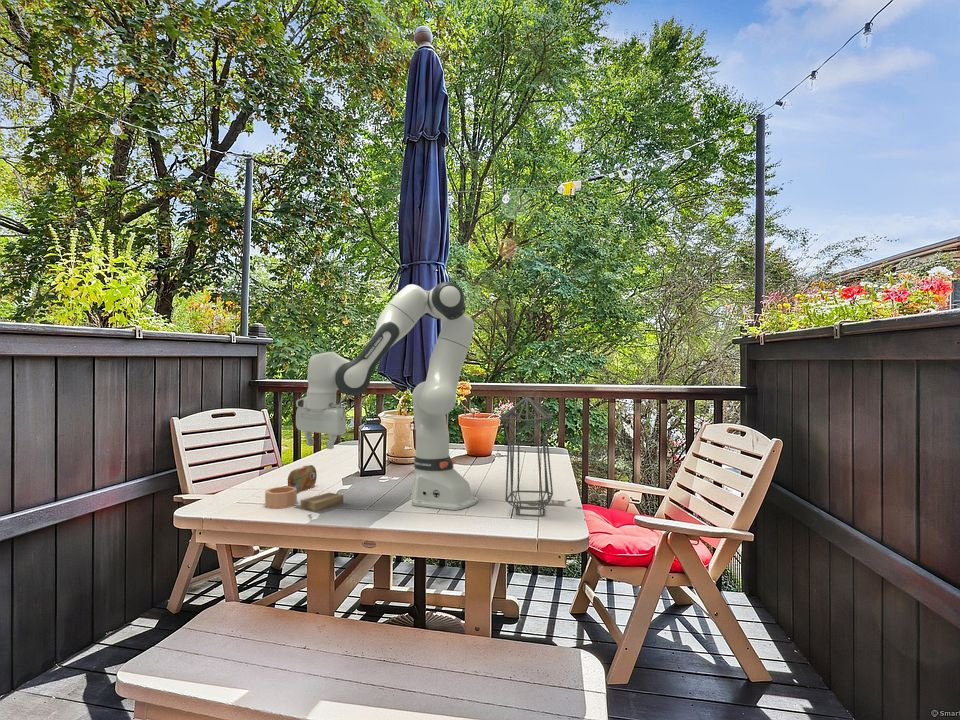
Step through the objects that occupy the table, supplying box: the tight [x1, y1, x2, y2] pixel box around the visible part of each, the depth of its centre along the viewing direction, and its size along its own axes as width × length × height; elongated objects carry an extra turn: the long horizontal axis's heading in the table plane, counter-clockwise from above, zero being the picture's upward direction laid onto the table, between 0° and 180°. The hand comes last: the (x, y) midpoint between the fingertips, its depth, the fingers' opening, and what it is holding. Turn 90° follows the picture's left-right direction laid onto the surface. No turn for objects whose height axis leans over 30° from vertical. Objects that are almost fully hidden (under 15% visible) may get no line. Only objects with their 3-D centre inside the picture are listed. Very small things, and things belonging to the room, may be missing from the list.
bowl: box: [264, 486, 298, 510], centre depth 156 cm, size 9×9×5 cm
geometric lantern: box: [499, 397, 555, 517], centre depth 151 cm, size 16×16×35 cm
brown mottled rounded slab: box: [287, 464, 318, 495], centre depth 175 cm, size 15×3×8 cm, turn 168°
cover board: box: [300, 492, 344, 513], centre depth 155 cm, size 6×11×2 cm, turn 148°
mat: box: [293, 502, 351, 515], centre depth 155 cm, size 12×12×1 cm
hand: (319, 447), depth 155 cm, fingers open, 8 cm apart
